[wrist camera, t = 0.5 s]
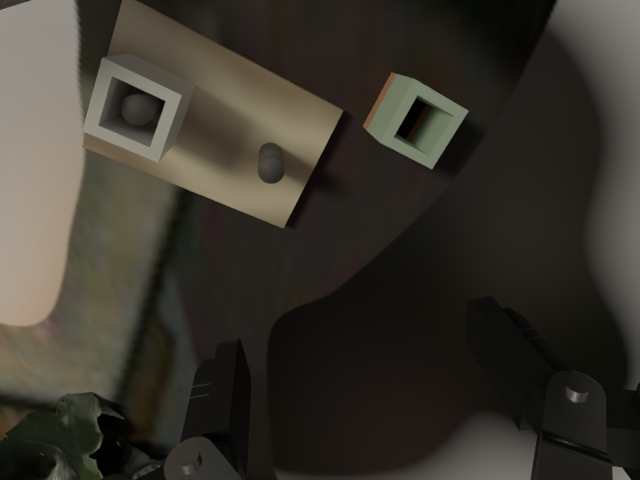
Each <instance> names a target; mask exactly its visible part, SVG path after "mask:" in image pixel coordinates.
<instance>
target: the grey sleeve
mask: <svg viewBox="0 0 640 480" xmlns="http://www.w3.org/2000/svg"><path fill="white" fill-rule="evenodd" d="M134 86H135V87H137V88H139V89H141V90H143V91H145V92H147V93H150V94H152V95H154V96H156V97H158V98H160V99H162V100H165V101H166V102H165V105H164V108H163V111H162V114H161V117H160V120H159V123H158V124H155V123H153V122H151V121H149V122H148V123H146V124H145V125H142V126H136V125H133V124H130V123H129V122H128V121H126V120H125V118H124V117H123V115H122V113H121V103H122V101H123V100H124V99H125V98H126V97H128V96H130V95H131V93H132V90H133V87H134ZM195 87H196V85H194V84H192V83H190V82H188V81H186V80H184V79H182V78H180V77H178V76H176V75H174V74H172V73H170V72H168V71H166V70H164V69H162V68H160V67H158V66H156V65H153V64H151V63H149V62H147V61H145V60H143V59H141V58H139V57H137V56H135V55H133V54H124V55H117V56H109V57H102V60H101V64H100V67H99V71H98V75H97V78H96V82H95V86H94V90H93V93H92V97H91V101H90V105H89V108H88V112H87V116H86V120H85V123H84V127H83V132H86V133H88V134H90V135H93V136H95V137H98V138H100V139H102V140H105V141H107V142H110V143H112V144H114V145H117V146H119V147H122V148H124V149H126V150H129V151H131V152H134V153H136V154H138V155H141V156H143V157H146V158H148V159H150V160H153V161H155V162H159V161H160V160H161V159H162V158H163V156H164V155H165V154H166V153H167V152H168V151H169V149H170V148H171V147H172V146H173V145H174V144H175V142H176V140H177V137H178V134H179V131H180V128H181V126H182V123H183V120H184V117H185V115H186V112H187V109H188V106H189V104H190V101H191V98H192V95H193V93H194V90H195Z"/></svg>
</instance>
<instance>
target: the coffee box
mask: <svg viewBox="0 0 640 480" xmlns="http://www.w3.org/2000/svg"><path fill="white" fill-rule="evenodd" d="M27 1H30V0H0V10H1V9H4V8H7V7H11V6H14V5H17V4H20V3H23V2H27Z"/></svg>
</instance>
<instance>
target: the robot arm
mask: <svg viewBox="0 0 640 480" xmlns="http://www.w3.org/2000/svg"><path fill="white" fill-rule="evenodd" d="M465 338H466V342H467V345H468V348H469V350H470V352H471V353H472V355H473V357H474V358H475V360H476V362H477V363H478V365H479V366H480V368H481V370H482V371H483V373H484V374H485V376H486V378H487V379H488V381H489V382H490V384H491V386H492V387H493V389H494V390H495V392H496V393H497V395H498V397H499V399H500V400H501V402H502V403H503V405H504V407H505V408H506V410H507V411H508V413H509V415H510V416H511V418H512V420H513V421H514V423H515V424H516V426H517V427H518V429H519V431H521V430H526V429H531V428H533V430H534V431H535V433H536V435H537V440H536V446H535V453H534V460H533V467H532V473H531V480H613V477H612V466H616V467H622V468H623V469H624V470H625V472H626V473H627V475H628V476H629V477H630V479H631V480H640V383H639V384H638V386H637V389H636V391H633V390H623V389H612V388H604V387H601V386H600V385H599V384H598V383H597V382H596V381H595V380H593V379H592V378H590V377H588V376H586V375H584V374H582V373H579V372H574V371H571V370H570V369H569V368H568V367H567V366H566V365H565V364H564V362H563V361H562V360H561V359H560V358H559V357H558V356H557V354H556V353H555V352H554V351H553V350H552V349H551V347H550V346H549V345H548V344H547V343H546V342H545V341H544V340H543V338H541V337H540V335H539V334H538V333H537V332H536V330H535V329H533V328H532V326H531V325H530V324H529V323H528V321H527V320H526V319H525V318H524V317H523V316H522V315H520V314H518V313H517V312H515V311H513V310H512V309H510V308H505V309H502V308H501V307H500V306H499V305H498V303H497V302H496V301H495V300H494V299H493V298H492V297H491V296H487V297H481V298H475V299H469V300H468V301H467V308H466V324H465ZM251 393H252V382H251V374H250V369H249V366H248V362H247V359H246V355H245V352H244V348H243V345H242V342H241V339H240V338H238V339H232V340H226V341H220V342H218V343H217V348H216V353H215V358H212V359H206V360H204V361H203V362H202V364H201V365H200V367H199V368H198V369H197V371H196V372H195V377H194V382H193V388H192V391H191V395H190V400H189V405H188V409H187V414H186V418H185V423H184V428H183V432H182V437H181V441H180V444H178V445H177V446H176V447H175V448H174V449H173V450H172V451H171V452H170V454H169V455H168V457H167V459H166V461H165V463H164V464H163V465H161V466H160V467H158V468H157V469H155V470H153V471H151V472H149V473H147V474H145V475H143V476H141V477H139V478H137V479H134V480H247V471H248V451H249V432H250V412H251ZM100 480H130V479H129V478H128V477H127V476H125V475H121V474H114V475H110V476H106V477H104V478H102V479H100Z"/></svg>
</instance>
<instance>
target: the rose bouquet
mask: <svg viewBox="0 0 640 480" xmlns="http://www.w3.org/2000/svg"><path fill="white" fill-rule="evenodd" d="M55 402H56V403H57V404H58V405H57V406H58V407H57V410H56V414H47V413H42V412H35V411H34V412H32V413H31V414H27V415H26V416H25V418H24V419H22V420H21V421H20V422H19V423H18V424H17V425H16V426H15V427H14V428H12V429H11V430H10V431H8V432H6V435H7V436H8V438H5V437H4V439H3V440H2V441H0V480H100V479H102V478H104V477H106V476H110V475H114V474H121V475H125V476H127V477H128V478H129V479H130V480H134V479H137V478H139V477H141V476H143V475H145V474H147V473H149V472H151V471H153V469H152V466H153V465H156V466H158V467H160V466H161V465H163V464H164V463H165V461H166V459H163V460H154V459H150V458H149V457H148V455H147V454H145V453H144V452H142V451H140V450H139V449H137V448H135V447H133V446H132V445H131V444H130V443H129V442H128V441H127V440H126V439H125V438H123V436H120V435H117V436H116V439H115V441H116V443H117V445H118V446H119V447H120V448H121V449H122V451H123V453H124V456H123V455H122V454H119V455H118V456H117V457H116V459H115V460H111V461H108V462H106V463H103V464H97V463H96V460H95V459H91V458H89V455H90V454H93V452H95V451H96V450H98V448H100V445H101V442H102V440H103V437H104V435H103V434H102V433H101V431H100V429H99V426H98V423H97V416H100V414H101V413H104V414H108V415H109V416H114V417H118V418H121V419H122V418H123V417H122V416H121V415H119V414H118V413H117V412H115V411H114V410H112V409H111V408H110V407H108V406H107V405H105V404H104V403H103V402H101V401H100V400H98V399H97V398H96V397H95V395H94V394H93V393H92V392H88V393H82V394H66V395H65V396H63V397H61V398H59V399H57V400H56V401H54V402H52V403H55ZM50 404H51V403H50ZM38 410H39V409H38ZM36 411H37V410H36ZM123 419H125V418H123ZM122 439H124V440H125V441H123V440H122ZM39 453H43V454H44V455H45V456H42V455H40V454H39ZM154 470H155V469H154Z"/></svg>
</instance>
